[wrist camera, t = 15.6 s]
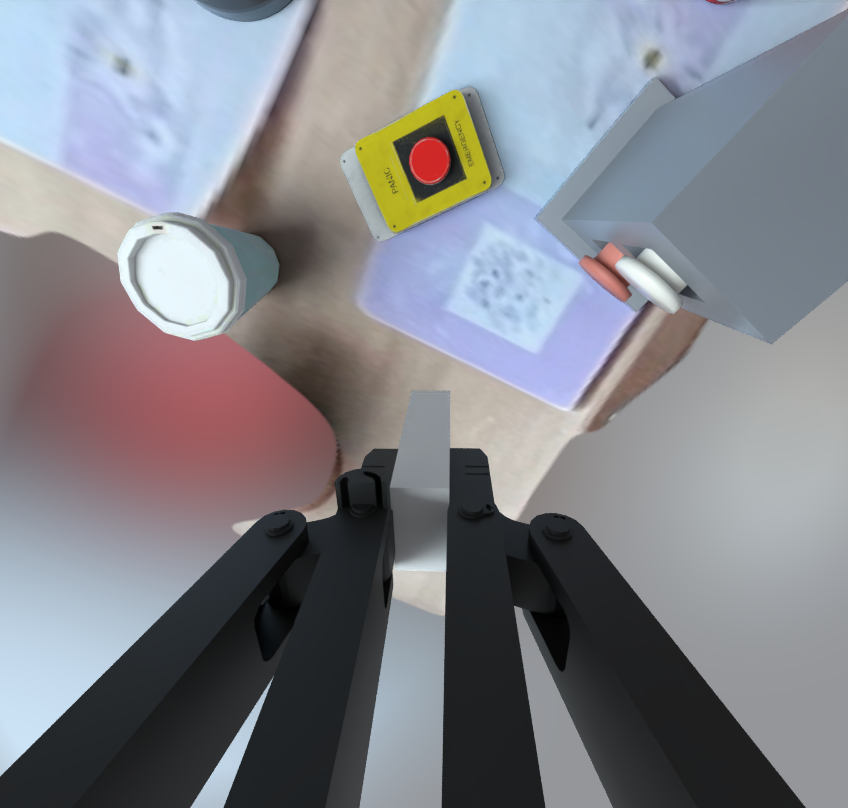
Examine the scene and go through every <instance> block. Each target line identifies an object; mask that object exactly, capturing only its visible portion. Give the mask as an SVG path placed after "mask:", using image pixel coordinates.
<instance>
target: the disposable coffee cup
mask: <svg viewBox="0 0 848 808" xmlns="http://www.w3.org/2000/svg"><path fill="white" fill-rule="evenodd" d="M118 261H119V270H120V279H121V283H122V284H123V286H124V288H125V290H126V291H127V293H128V294H129V297H130V298H131V300H132V301H133V303H134V305H135V307H136V308H137V310H138V311H139V312H141V313H142V314H143V315H144V316H145V317H147V318H148V319H149V320H150V321H152V322H153V323H154V324H155V325H156V326H157V327H159V328H160V329H161V330H162V331H164V332H165V333H168V334H172V335H176V336H179V337H183V338H187V339H191V340H194V341H195V340H198V339H200V340H201V339H205V338H209V337H212V336H216V335H219V334H223V333H226V332H228V331H229V329H230V328H231V327H232V326H233V324H234V323H235V322H236V321H237V320H238V319H239V318H240V317H241V316H243V315H244V314H245V313H246V312H247V311H248V310H249V309H250V308H252V307H253V306H254V305H255V304H256V303H257V302H258V301H260V300H261V299H262V298H263V297H264V296H265V295H266V294H267V293H269V291H270V290H271V289H272V288H273V286H274V285H275V284H276V283H277V281H278V274H279V262H278V260H277V257H276V254H275V252H274V250H273V248H272V247H271V246H270V245H269V244H267V243H266V242H265V241H264V240H263V239H262V238H261V237H260V236H256V235H253V234H249V233H245V232H241V231H237V230H233V229H229V228H225V227H221V226H216V225H212V224H209V223H208V222H207V221H206V220H204V219H200V218H197V217H193V216H189V215H186V214H182V213H178V212H173V213H163V214H160V215H157V216H154V217H151V218H148V219H145V220H142V221H139V222H137V223H136V224H135V226H134V227H133V228H130V229H129V231H128V233H127V235H126V237H125V239H124V240H123V242H122V244H121V246H120V248H119V250H118Z"/></svg>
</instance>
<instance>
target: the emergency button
mask: <svg viewBox="0 0 848 808" xmlns="http://www.w3.org/2000/svg"><path fill="white" fill-rule="evenodd" d="M340 164H341V167H342V170H343V172H344V174H345V176H346V179H347V181H348V183H349V185H350V187H351V190H352V192H353V194H354V196H355V198H356V201H357V203H358V205H359V207H360V210H361V212H362V214H363V216H364V218H365V221H366V223H367V225H368V227H369V230H370V232H371V234H372V236H373V237H374V239H375V240H377V241H380V242H382V241H386V240H388V239H390V238H392V237H394V236H397V235H399V234H401V233H403V232H405V231H407V230H409V229H411V228H413V227H415V226H418V225H420V224H422V223H424V222H426V221H428V220H430V219H432V218H434V217H436V216H438V215H441V214H443V213H445V212H447V211H449V210H451V209H453V208H455V207H457V206H459V205H462V204H464V203H466V202H468V201H470V200H472V199H474V198H476V197H478V196H480V195H482V194H485V193H487V192H489V191H491V190H493V189H495V188H497V187H498V186H499V185H501V184H502V182H503V180H504V172H503V169H502V166H501V163H500V160H499V157H498V154H497V151H496V147H495V144H494V141H493V138H492V135H491V132H490V129H489V126H488V123H487V120H486V117H485V114H484V111H483V108H482V105H481V102H480V99H479V95H478V93H477V91H476V90H475V89H474V88H471V87H466V88H463V89H461V90H459V91H458V90H452V91H450V92H448V93H446V94H444V95H442V96H441V97H439V98H437V99H435V100H433V101H431V102H429V103H428V104H426V105H424V106H422V107H420V108H418V109H416V110H415V111H413V112H411V113H409V114H407V115H405V116H403V117H402V118H400V119H398V120H396V121H394V122H392V123H391V124H389V125H387V126H385V127H383V128H381V129H379V130H378V131H376V132H374V133H372V134H370V135H368V136H366V137H365V138H363V139H361V140H359V141H358V142H357V143H356V146H355V147H353V148H351V149H349V150H347V151H346V152H345V153H344V154H342V156H341V159H340Z"/></svg>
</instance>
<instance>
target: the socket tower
mask: <svg viewBox="0 0 848 808" xmlns="http://www.w3.org/2000/svg"><path fill="white" fill-rule="evenodd" d="M534 219H535V220H536V221H537V222H538V223H539V224H540V225H541V226H542V227H544V228H545V229H546V230H547V231H548V232H549V233H550V234H551V235H552V236H553V237H554V238H555V239H556V240H557V241H558V242H560V243H561V244H562V245H563V246H564V247H565V248H566V249H567V250H568V251H569V252H570V253H571V254H572V255H573V256H574V257H576V258H577V259H578V260H579V261H580V260H581V259H582V258H583V257H584V256H585V255H588V256H590V257H592V258H593V259H594V258H595V257H596V256H597V255H598V254H599V253H600V251H601V250H602V249H603V248H604V247H605V246H606V245H607V244H608V243H609V242H611V243H612V244H613V245H614V246H615V247H616V248H617V249H618V250H619V251H620V252H621V253H622V254H623V255H627V256H630V257H632V258H634V259H636V258H637V257H638V256H639V255H640V254H641V253H642V252H643V250H644V249H645V248H647V249H652V250H653V251H654V252H655V253H656V254H657V255H658V256H659V257H660V258H661V259H662V260H663V261H664V262H665V263H666V264H667V265H668V266H669V267H670V268H671V269H672V270H673V271H674V272H675V273H676V274H677V275H678V276H679V277H680V278H681V279H682V280H683V281H684V282H685V283H686V284H687V286H686V287H685V288H684V289H683V290H682V291H681V292H680V293H679V294H678V295H679V297H680V298H681V299H682V301H683V305H682V306H681V307H680V308H682V309H685V310H687V311H690V312H692V313H695V314H697V315H700V316H702V317H705V318H707V319H710V320H712V321H715V322H717V323H720V324H722V325H725V326H727V327H730V328H732V329H735V330H737V331H740V332H742V333H745V334H747V335H750V336H752V337H755V338H757V339H760V340H762V341H765V342H767V343H769V344H772V343H774V342H775V341H776V340H777V339H778V338H780V337H781V336H782V335H783V334H785V333H786V332H787V331H788V330H789V329H791V328H792V327H793V326H794V325H795V324H797V323H798V322H799V321H800V320H801V319H803V318H804V317H805V316H806V315H807V314H809V313H810V312H811V311H812V310H813V309H815V308H816V307H817V306H818V305H820V304H821V303H822V302H823V301H824V300H825V299H827V298H828V297H829V296H830V295H832V294H833V293H834V292H835V291H836V290H838V289H839V288H840V287H841V286H842V285H844V284H845V283H846V282H847V281H848V9H847V10H845V11H843V12H842V13H840V14H838V15H836V16H834V17H832V18H830V19H828V20H826V21H824V22H822V23H820V24H819V25H817V26H815V27H813V28H811V29H809V30H807V31H805V32H803V33H801V34H799V35H797V36H796V37H794V38H792V39H790V40H788V41H786V42H784V43H782V44H780V45H778V46H776V47H774V48H773V49H771V50H769V51H767V52H765V53H763V54H761V55H759V56H757V57H755V58H753V59H751V60H750V61H748V62H746V63H744V64H742V65H740V66H738V67H736V68H734V69H732V70H730V71H728V72H727V73H725V74H723V75H721V76H719V77H717V78H715V79H713V80H711V81H709V82H707V83H705V84H703V85H702V86H700V87H698V88H696V89H694V90H692V91H690V92H688V93H686V94H684V95H682V96H680V97H679V98H677V99H675V98H674V96H673V95H672V94H671V93H670V92H669V91H668V90H667V89H666V87H665V86H664V85H663V84H662V83H661V82H660V81H659V80H658V78H657V77H655V78H653V79H652V80H650V81H649V82H648V83H647V84H646V85H645V87H644V88H643V89H642V90H641V91H640V93H639V94H638V95H637V96H636V97H635V99H634V100H633V101H632V102H631V103H630V105H629V106H628V107H627V108H626V109H625V110H624V112H623V113H622V114H621V115H620V116H619V118H618V119H617V120H616V121H615V122H614V124H613V125H612V126H611V127H610V128H609V130H608V131H607V132H606V133H605V134H604V136H603V137H602V138H601V139H600V140H599V142H598V143H597V144H596V145H595V146H594V147H593V149H592V150H591V151H590V152H589V153H588V155H587V156H586V157H585V158H584V159H583V161H582V162H581V163H580V164H579V165H578V167H577V168H576V169H575V170H574V171H573V173H572V174H571V175H570V176H569V177H568V179H567V180H566V181H565V182H564V183H563V184H562V186H561V187H560V188H559V189H558V190H557V192H556V193H555V194H554V195H553V196H552V198H551V199H550V200H549V201H548V202H547V204H546V205H545V206H544V207H543V208H542V210H541V211H540V212H539V213H538V214H537V216H536V217H535V218H534ZM627 288H628V289H629V291H630V292H631V293H632V296H631V297H630V298H629V299H628V300H627V301H626V302H624V303H625V304H626V305H627V306H628V307H629V308H630V309H631V310H633V311H635V312H637V311H638V310H639V309H640V308H641V307H642V306H643V305H644V304H645V303H646V302H647V301H648V299H647V298H646V297H644V296H643V295H642V294H641V293H640V292H638V291H637V290H636V289H635V288H634V287H633V286H632V285H631V284H630V285H629V286H628V287H627Z"/></svg>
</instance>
